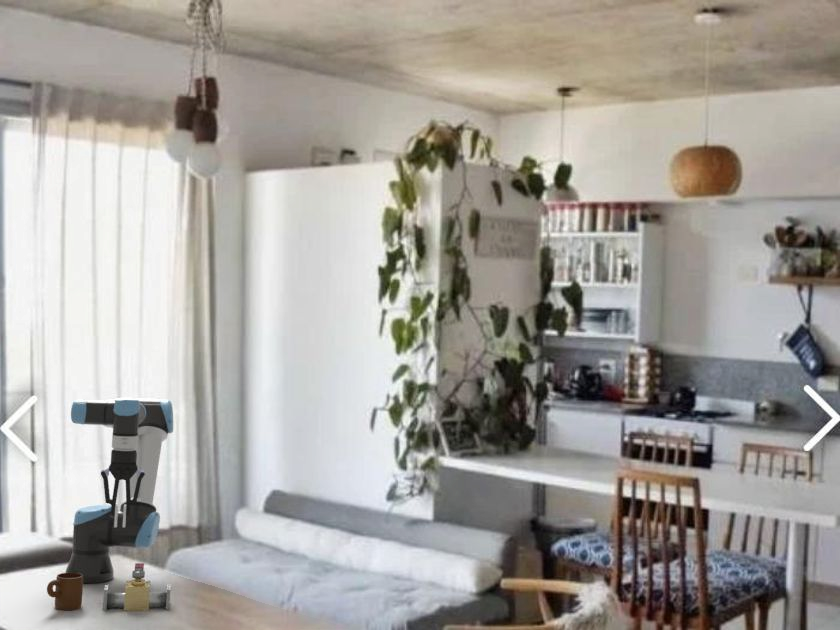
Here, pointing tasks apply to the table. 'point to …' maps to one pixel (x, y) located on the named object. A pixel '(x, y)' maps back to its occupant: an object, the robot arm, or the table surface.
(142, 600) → the valve pipe
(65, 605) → the mug
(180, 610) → the table surface
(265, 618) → the table surface
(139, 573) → the lever
